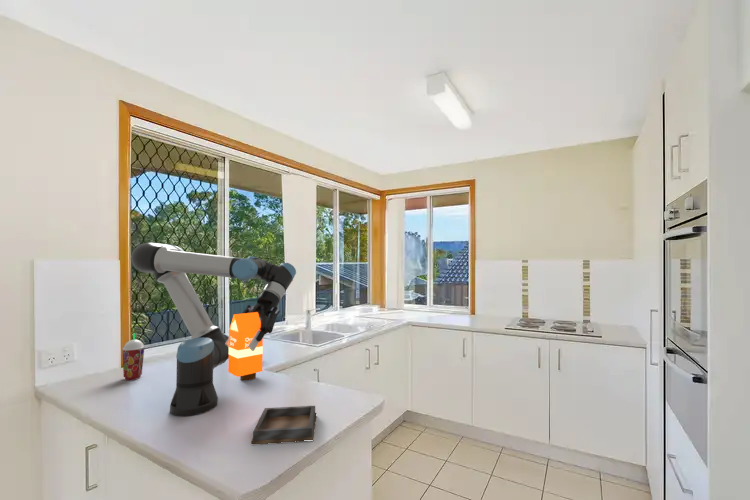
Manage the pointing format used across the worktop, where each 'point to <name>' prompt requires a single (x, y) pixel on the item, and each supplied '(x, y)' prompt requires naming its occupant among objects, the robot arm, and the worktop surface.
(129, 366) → the smoothie
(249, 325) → the orange juice
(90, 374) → the worktop surface
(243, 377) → the disposable coffee cup
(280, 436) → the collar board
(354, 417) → the worktop surface
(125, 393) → the worktop surface
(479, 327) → the worktop surface
